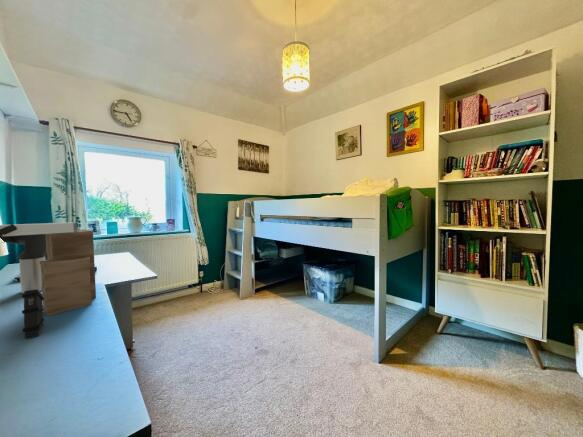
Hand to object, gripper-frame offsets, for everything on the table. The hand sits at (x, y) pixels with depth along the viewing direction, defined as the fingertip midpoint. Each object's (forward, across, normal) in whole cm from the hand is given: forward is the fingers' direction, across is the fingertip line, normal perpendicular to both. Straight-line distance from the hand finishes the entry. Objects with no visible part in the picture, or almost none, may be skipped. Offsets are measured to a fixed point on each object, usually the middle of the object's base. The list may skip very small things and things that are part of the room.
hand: (14, 226), depth 91 cm
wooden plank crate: (-4, +7, +39) cm, 40 cm away
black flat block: (-16, -16, +32) cm, 40 cm away
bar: (+3, 0, +6) cm, 7 cm away
